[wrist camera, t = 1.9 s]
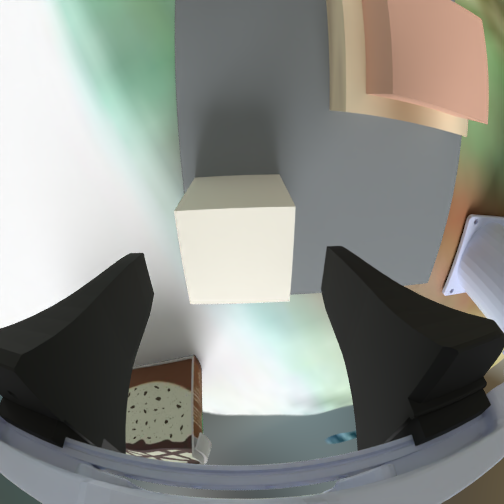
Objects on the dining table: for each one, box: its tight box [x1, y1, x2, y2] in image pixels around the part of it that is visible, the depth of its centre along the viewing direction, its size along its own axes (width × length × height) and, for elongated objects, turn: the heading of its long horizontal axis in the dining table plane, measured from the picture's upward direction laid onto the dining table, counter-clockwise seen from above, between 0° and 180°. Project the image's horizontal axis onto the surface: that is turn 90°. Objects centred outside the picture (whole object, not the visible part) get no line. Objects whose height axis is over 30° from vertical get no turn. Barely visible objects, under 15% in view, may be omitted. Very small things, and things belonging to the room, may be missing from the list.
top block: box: [174, 174, 296, 304], centre depth 13 cm, size 5×5×5 cm
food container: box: [126, 355, 211, 465], centre depth 21 cm, size 12×6×10 cm, turn 111°
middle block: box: [362, 0, 489, 124], centre depth 7 cm, size 6×6×2 cm
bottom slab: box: [326, 0, 468, 137], centre depth 10 cm, size 8×8×2 cm
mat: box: [175, 0, 462, 294], centre depth 13 cm, size 18×24×1 cm
